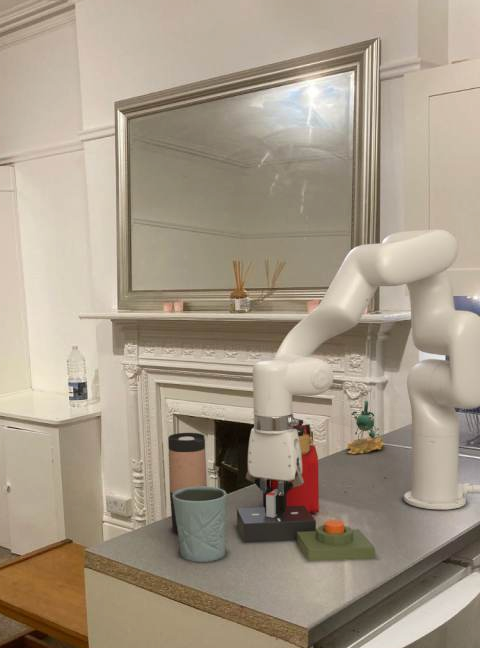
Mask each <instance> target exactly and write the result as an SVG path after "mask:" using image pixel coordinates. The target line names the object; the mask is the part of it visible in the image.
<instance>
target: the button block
mask: <svg viewBox="0 0 480 648" xmlns="http://www.w3.org/2000/svg"><path fill="white" fill-rule="evenodd" d="M296 544H297V545H298V547H299V548H300V550H301V551H302V554H304V556H305V558H306V559H307V561H308V562H317V561H319V562H320V561H343V560H345V561H346V560H365V559H368V560H369V559H370V560H371V559H376V548H375V546H374V544H373V543H372V542H371V541H370V539H368V538H367V537H366V536H365V535H364V533H362V531H361V530H360V528H359V529H358V528H356V529H355V528H354V529H352V528H351V527H349V526H346V525H344V533H341V534H331V533H327V532H324V524H323V525H319V526H318V527H316V531H307V532H297V541H296Z"/></svg>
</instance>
